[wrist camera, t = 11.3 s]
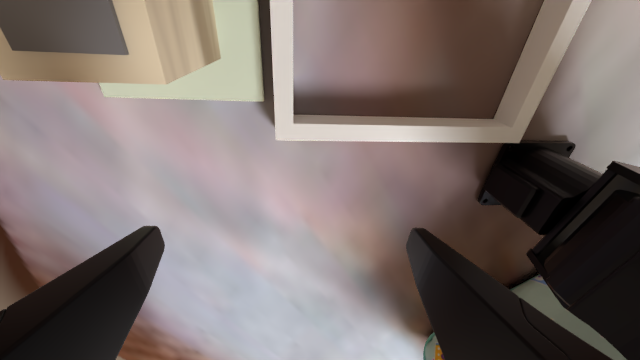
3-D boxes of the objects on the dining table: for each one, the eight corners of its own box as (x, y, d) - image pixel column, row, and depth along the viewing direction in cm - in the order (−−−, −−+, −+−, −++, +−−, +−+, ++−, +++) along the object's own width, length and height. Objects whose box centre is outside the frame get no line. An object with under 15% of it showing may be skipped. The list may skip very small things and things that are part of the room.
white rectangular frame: (617, -124, 13) (665, -146, 12) (500, 133, 21) (519, 143, 19) (265, -177, 11) (260, -213, 9) (277, 129, 19) (275, 140, 17)
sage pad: (251, -108, 12) (250, -113, 12) (264, 99, 17) (263, 101, 17) (21, -136, 11) (11, -142, 11) (109, 95, 16) (104, 97, 16)
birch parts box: (205, -49, 13) (104, -137, 6) (220, 58, 15) (163, 85, 8) (99, -58, 12) (-151, -167, 5) (134, 55, 15) (-3, 80, 8)
